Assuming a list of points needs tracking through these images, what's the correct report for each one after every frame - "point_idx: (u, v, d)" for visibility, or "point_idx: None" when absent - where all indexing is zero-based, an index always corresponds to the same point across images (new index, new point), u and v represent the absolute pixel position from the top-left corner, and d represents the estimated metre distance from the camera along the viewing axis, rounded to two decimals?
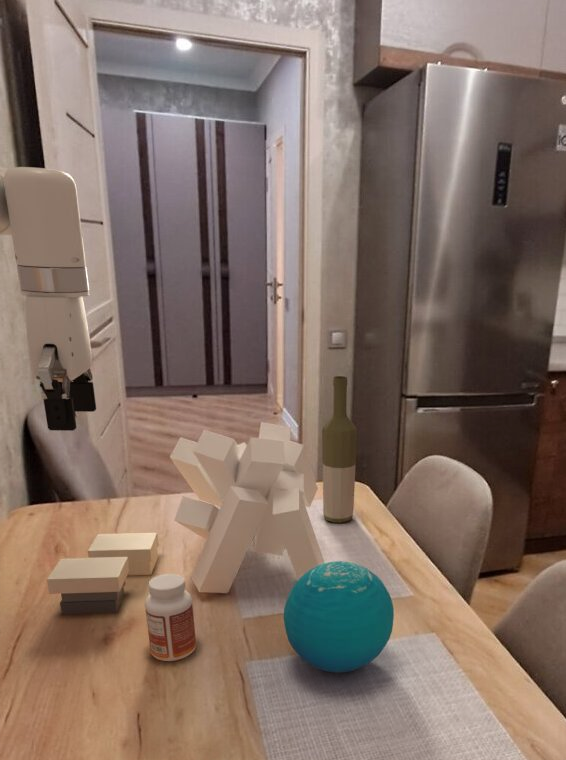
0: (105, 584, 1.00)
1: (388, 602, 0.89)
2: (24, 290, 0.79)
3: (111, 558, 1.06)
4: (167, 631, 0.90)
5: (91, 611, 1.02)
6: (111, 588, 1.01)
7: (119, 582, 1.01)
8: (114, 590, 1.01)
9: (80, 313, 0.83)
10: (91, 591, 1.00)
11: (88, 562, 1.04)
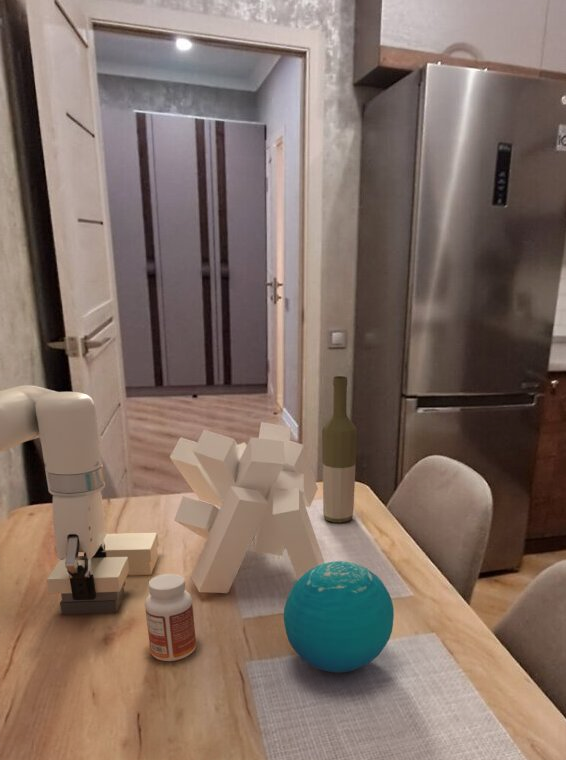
0: (105, 584, 1.00)
1: (388, 602, 0.89)
2: (51, 490, 0.95)
3: (111, 558, 1.06)
4: (167, 631, 0.90)
5: (91, 611, 1.02)
6: (111, 588, 1.01)
7: (119, 582, 1.01)
8: (114, 590, 1.01)
9: (97, 501, 0.99)
10: None
11: None
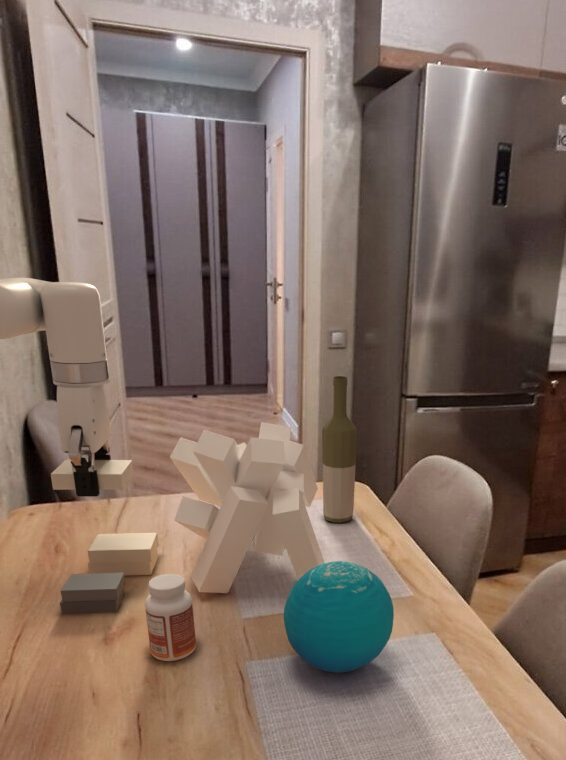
0: (109, 481, 1.00)
1: (388, 602, 0.89)
2: (55, 381, 0.95)
3: (115, 460, 1.06)
4: (167, 631, 0.90)
5: (91, 611, 1.02)
6: (114, 486, 1.01)
7: (122, 480, 1.01)
8: (117, 488, 1.01)
9: (101, 396, 0.99)
10: None
11: None
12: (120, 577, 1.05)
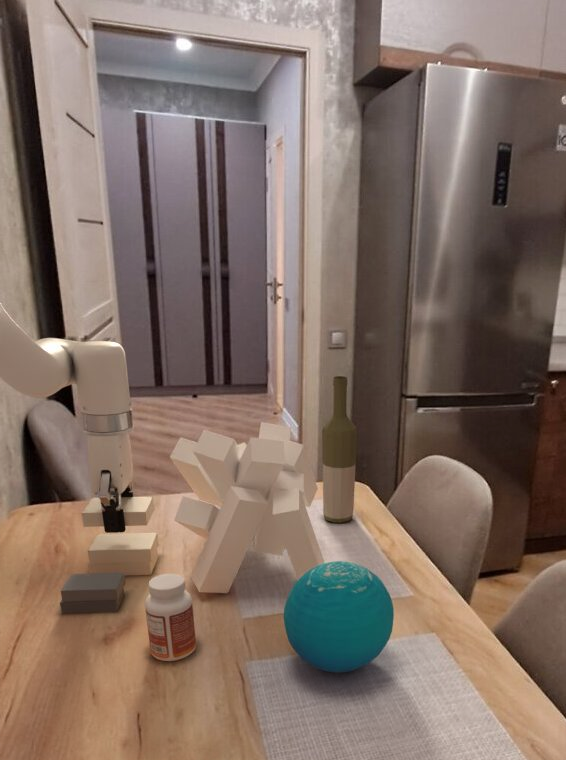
0: (134, 518, 1.10)
1: (388, 602, 0.89)
2: (86, 430, 1.05)
3: (138, 497, 1.16)
4: (167, 631, 0.90)
5: (91, 611, 1.02)
6: (139, 522, 1.11)
7: (146, 517, 1.11)
8: (142, 524, 1.11)
9: (126, 442, 1.09)
10: None
11: None
12: (120, 577, 1.05)
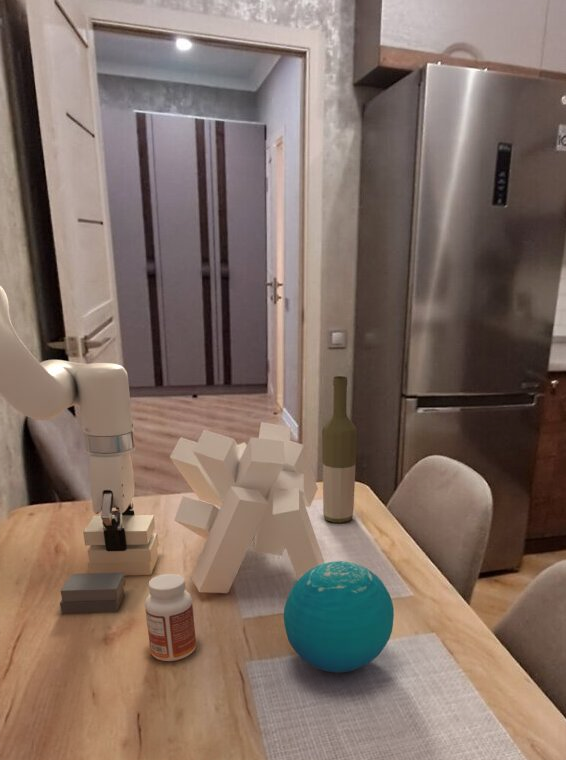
0: (135, 537, 1.12)
1: (388, 602, 0.89)
2: (88, 450, 1.06)
3: (139, 516, 1.17)
4: (167, 631, 0.90)
5: (91, 611, 1.02)
6: (140, 541, 1.12)
7: (147, 536, 1.12)
8: (143, 543, 1.12)
9: (128, 462, 1.10)
10: None
11: None
12: (120, 577, 1.05)
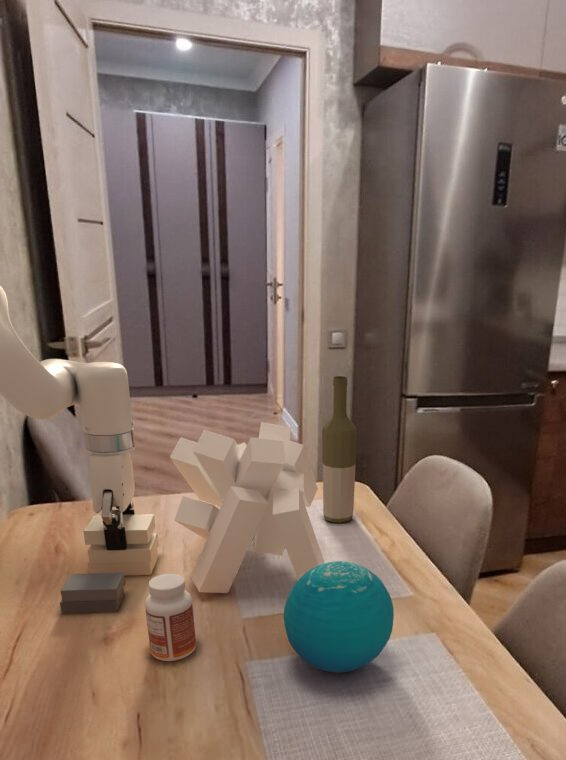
0: (135, 536, 1.12)
1: (388, 602, 0.89)
2: (88, 450, 1.06)
3: (139, 515, 1.17)
4: (167, 631, 0.90)
5: (91, 611, 1.02)
6: (140, 540, 1.12)
7: (147, 535, 1.12)
8: (143, 542, 1.12)
9: (128, 461, 1.10)
10: None
11: None
12: (120, 577, 1.05)
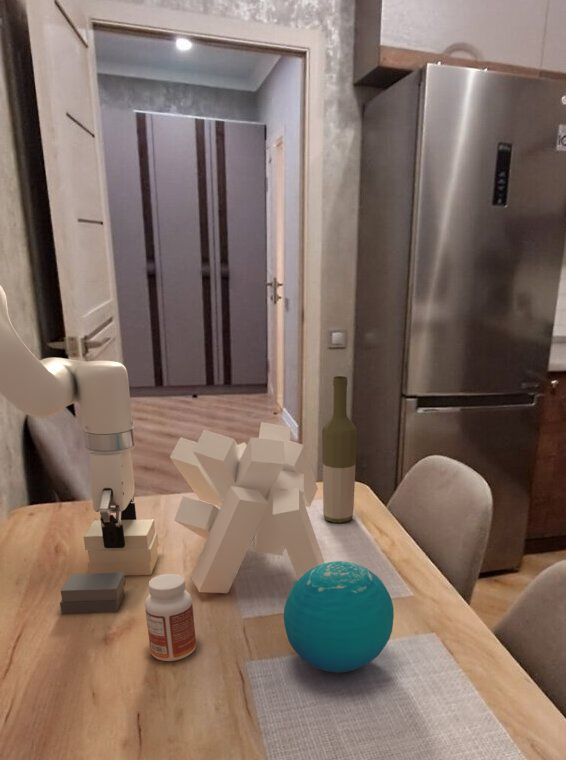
0: (135, 541, 1.12)
1: (388, 602, 0.89)
2: (88, 448, 1.06)
3: (139, 520, 1.17)
4: (167, 631, 0.90)
5: (91, 611, 1.02)
6: (140, 545, 1.12)
7: (147, 540, 1.13)
8: (143, 547, 1.13)
9: (128, 460, 1.10)
10: (122, 548, 1.12)
11: None
12: (120, 577, 1.05)
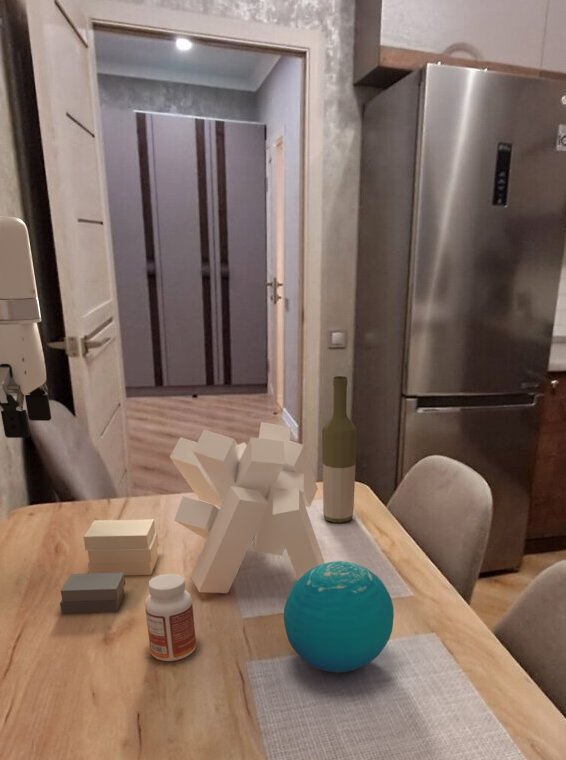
0: (135, 541, 1.12)
1: (388, 602, 0.89)
2: None
3: (139, 520, 1.17)
4: (167, 631, 0.90)
5: (91, 611, 1.02)
6: (140, 545, 1.12)
7: (147, 540, 1.13)
8: (143, 547, 1.13)
9: (33, 336, 0.96)
10: (122, 548, 1.12)
11: (119, 523, 1.16)
12: (120, 577, 1.05)
